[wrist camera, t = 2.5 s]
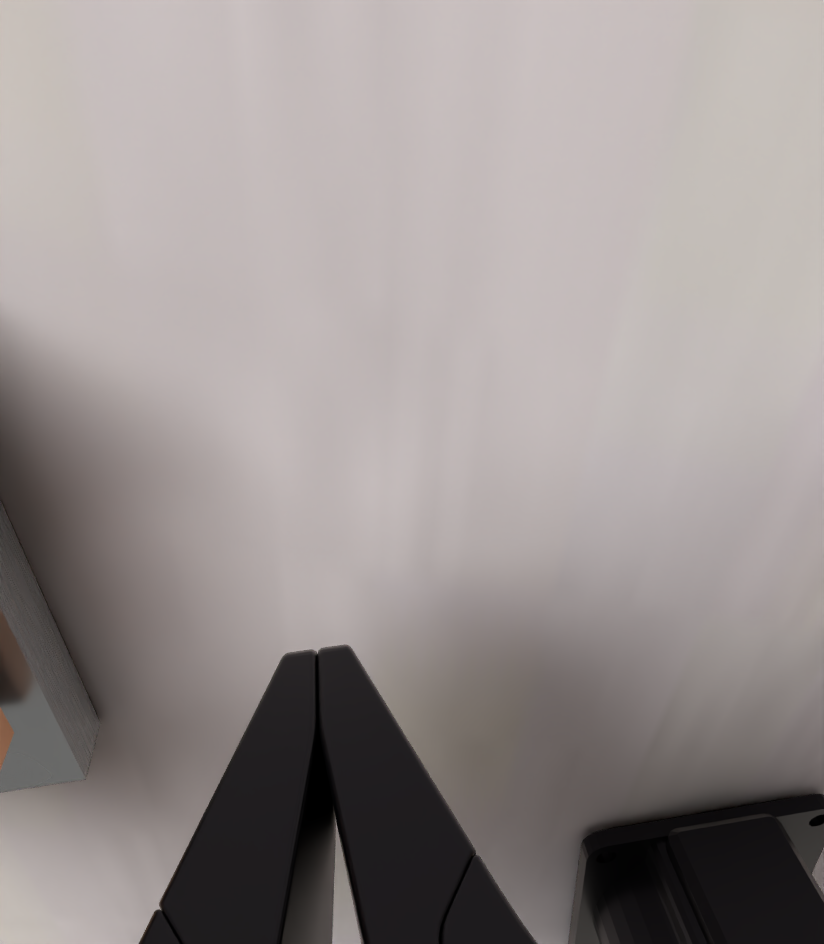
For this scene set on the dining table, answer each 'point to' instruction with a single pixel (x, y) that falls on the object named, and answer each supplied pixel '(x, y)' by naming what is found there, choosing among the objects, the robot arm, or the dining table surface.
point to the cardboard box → (4, 736)
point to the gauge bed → (38, 682)
